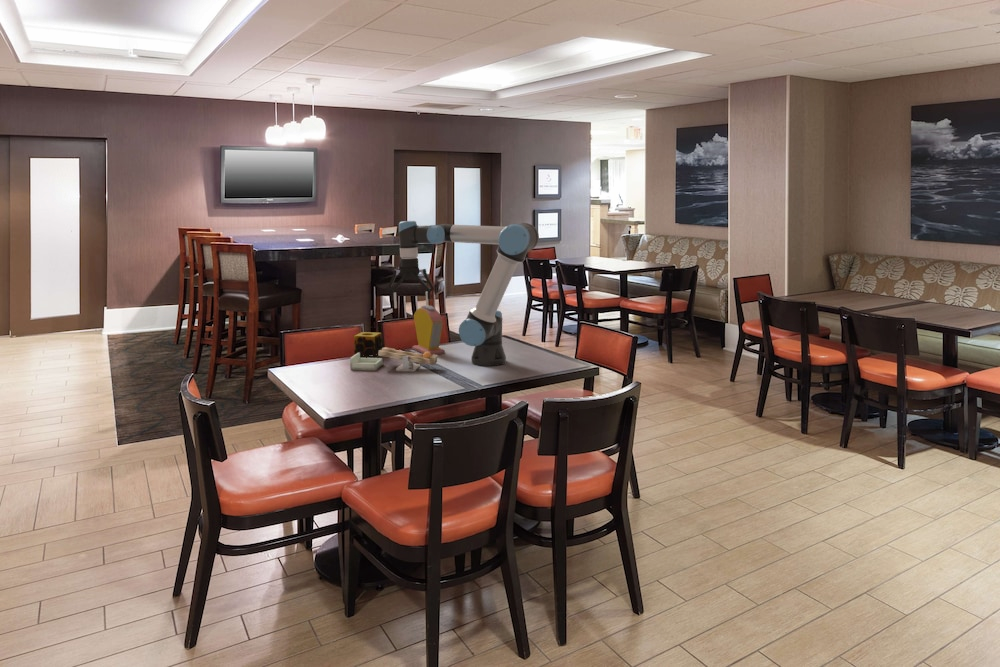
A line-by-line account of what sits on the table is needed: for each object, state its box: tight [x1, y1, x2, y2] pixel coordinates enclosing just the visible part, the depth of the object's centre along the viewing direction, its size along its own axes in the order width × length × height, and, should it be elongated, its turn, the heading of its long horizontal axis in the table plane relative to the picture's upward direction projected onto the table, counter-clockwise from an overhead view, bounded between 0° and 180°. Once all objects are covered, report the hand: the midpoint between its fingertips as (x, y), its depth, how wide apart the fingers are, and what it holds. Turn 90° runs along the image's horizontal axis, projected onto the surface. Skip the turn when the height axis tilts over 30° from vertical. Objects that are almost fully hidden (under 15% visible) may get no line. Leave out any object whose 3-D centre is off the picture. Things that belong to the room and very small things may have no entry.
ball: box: [422, 352, 432, 359], centre depth 313 cm, size 4×4×4 cm
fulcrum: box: [395, 351, 421, 373], centre depth 314 cm, size 8×10×6 cm
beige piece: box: [378, 346, 439, 366], centre depth 317 cm, size 25×13×4 cm, turn 84°
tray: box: [349, 353, 384, 371], centre depth 317 cm, size 11×11×5 cm
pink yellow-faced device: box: [411, 304, 446, 356], centre depth 346 cm, size 22×9×22 cm, turn 30°
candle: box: [353, 331, 383, 358], centre depth 339 cm, size 10×10×10 cm
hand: (411, 307), depth 320 cm, fingers open, 13 cm apart
